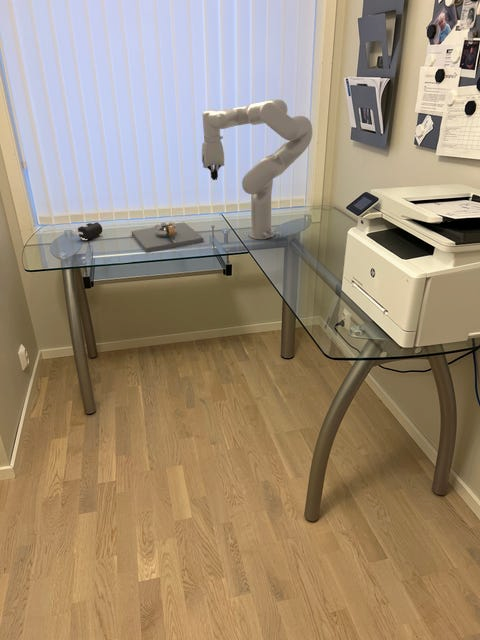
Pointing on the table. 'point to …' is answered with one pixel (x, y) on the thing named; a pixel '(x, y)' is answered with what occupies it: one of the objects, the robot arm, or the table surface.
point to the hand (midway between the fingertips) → (214, 179)
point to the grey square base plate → (166, 238)
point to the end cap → (90, 230)
